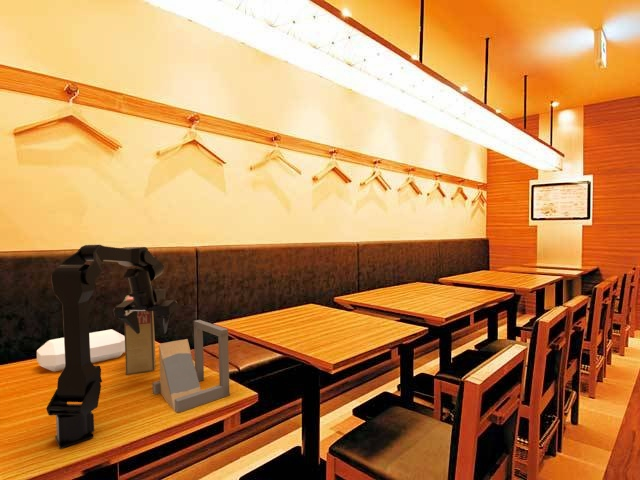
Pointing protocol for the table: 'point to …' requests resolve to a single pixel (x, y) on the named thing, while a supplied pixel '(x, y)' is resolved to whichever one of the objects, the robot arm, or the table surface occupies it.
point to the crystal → (101, 349)
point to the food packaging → (140, 344)
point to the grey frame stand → (212, 392)
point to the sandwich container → (177, 371)
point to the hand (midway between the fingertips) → (151, 333)
